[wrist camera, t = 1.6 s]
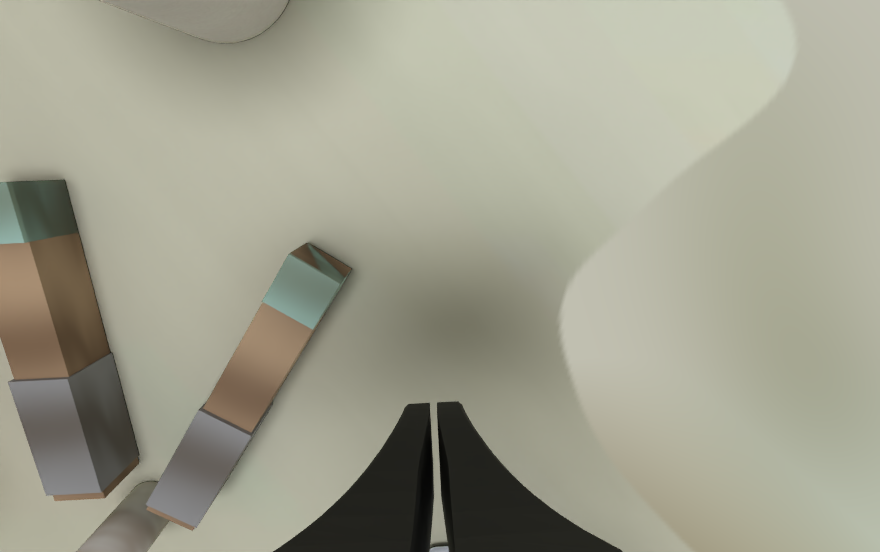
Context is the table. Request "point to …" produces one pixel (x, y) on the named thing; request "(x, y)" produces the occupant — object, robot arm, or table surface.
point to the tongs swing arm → (248, 385)
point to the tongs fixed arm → (66, 365)
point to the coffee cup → (209, 16)
